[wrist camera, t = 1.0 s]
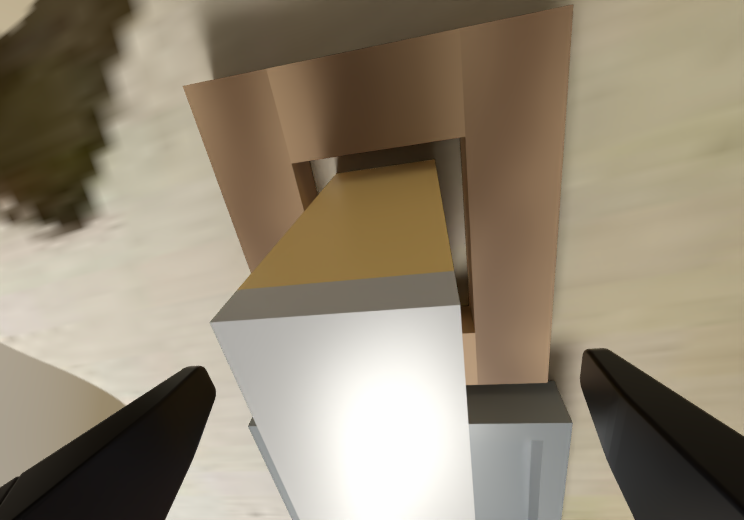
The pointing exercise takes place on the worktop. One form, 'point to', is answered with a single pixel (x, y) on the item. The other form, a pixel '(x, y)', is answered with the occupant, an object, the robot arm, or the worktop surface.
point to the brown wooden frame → (409, 127)
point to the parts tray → (504, 451)
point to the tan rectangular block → (359, 353)
